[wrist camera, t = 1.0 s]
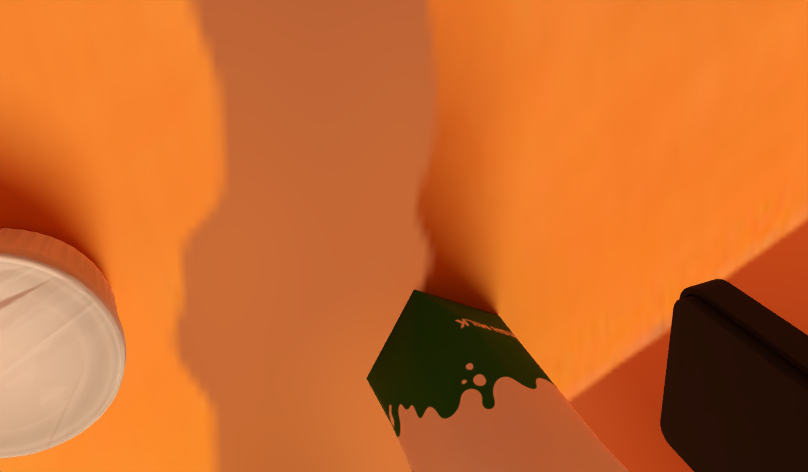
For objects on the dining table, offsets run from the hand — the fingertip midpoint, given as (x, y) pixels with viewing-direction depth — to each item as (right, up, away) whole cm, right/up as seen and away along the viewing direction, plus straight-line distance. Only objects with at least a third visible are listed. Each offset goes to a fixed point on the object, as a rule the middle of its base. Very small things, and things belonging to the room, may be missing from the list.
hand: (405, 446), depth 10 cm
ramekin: (-20, 0, +25) cm, 32 cm away
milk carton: (+2, -4, +34) cm, 34 cm away
